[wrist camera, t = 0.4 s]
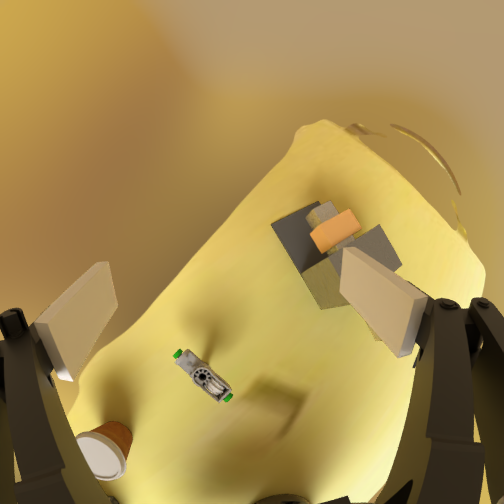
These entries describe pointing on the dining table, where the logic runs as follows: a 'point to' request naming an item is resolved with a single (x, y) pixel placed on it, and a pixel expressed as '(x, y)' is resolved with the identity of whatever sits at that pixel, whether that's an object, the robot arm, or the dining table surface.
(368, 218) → the dining table surface
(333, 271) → the block
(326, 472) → the dining table surface
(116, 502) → the small box
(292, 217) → the mat
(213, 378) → the mechanical component
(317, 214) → the shaft
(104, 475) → the disposable coffee cup
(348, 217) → the block
